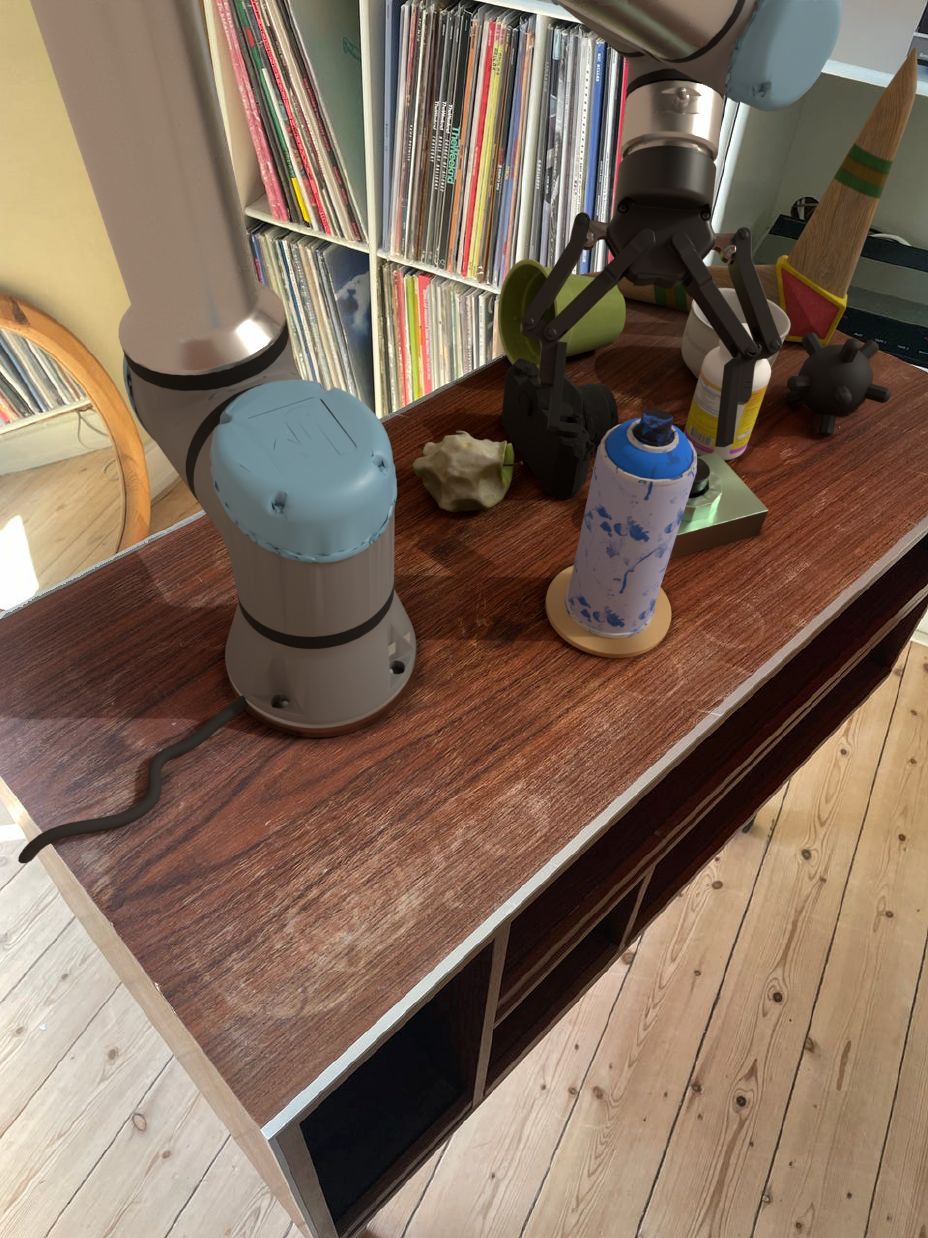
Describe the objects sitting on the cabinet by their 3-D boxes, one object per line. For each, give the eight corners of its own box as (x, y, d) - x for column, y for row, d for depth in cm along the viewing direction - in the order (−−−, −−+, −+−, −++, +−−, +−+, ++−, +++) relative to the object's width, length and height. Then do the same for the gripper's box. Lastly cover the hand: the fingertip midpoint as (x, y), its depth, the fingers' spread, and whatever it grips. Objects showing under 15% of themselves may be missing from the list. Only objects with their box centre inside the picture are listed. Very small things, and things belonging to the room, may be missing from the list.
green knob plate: (660, 562, 86) (672, 522, 83) (613, 500, 92) (623, 460, 88) (758, 534, 90) (774, 495, 86) (708, 476, 95) (721, 437, 91)
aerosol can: (661, 585, 84) (719, 399, 69) (645, 649, 79) (704, 463, 64) (576, 562, 85) (615, 375, 70) (555, 624, 80) (592, 436, 65)
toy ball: (806, 426, 109) (822, 468, 99) (757, 354, 105) (769, 390, 95) (894, 372, 104) (920, 411, 94) (846, 294, 100) (868, 326, 90)
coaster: (581, 673, 77) (582, 668, 77) (524, 581, 84) (525, 577, 83) (693, 638, 81) (695, 633, 80) (631, 552, 87) (632, 548, 87)
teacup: (683, 339, 112) (699, 276, 106) (774, 359, 110) (796, 297, 104) (662, 404, 103) (679, 340, 97) (761, 427, 101) (784, 364, 95)
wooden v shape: (906, 67, 87) (915, 43, 91) (578, 276, 117) (595, 251, 121) (1004, 263, 96) (1009, 234, 99) (675, 411, 125) (688, 384, 129)
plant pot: (590, 382, 112) (511, 388, 107) (569, 286, 113) (488, 288, 107) (651, 343, 102) (566, 348, 97) (627, 238, 102) (541, 238, 97)
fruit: (528, 504, 93) (542, 452, 86) (452, 546, 89) (460, 495, 82) (473, 442, 96) (482, 387, 89) (398, 480, 92) (401, 426, 85)
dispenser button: (676, 503, 85) (681, 486, 83) (653, 476, 87) (658, 458, 86) (713, 493, 86) (718, 476, 85) (690, 467, 89) (695, 449, 87)
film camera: (637, 486, 93) (656, 412, 87) (549, 506, 91) (562, 431, 84) (570, 399, 102) (583, 325, 96) (489, 415, 100) (496, 341, 93)
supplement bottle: (741, 427, 101) (778, 320, 91) (748, 466, 96) (787, 358, 87) (679, 420, 101) (709, 313, 91) (683, 459, 97) (715, 351, 87)
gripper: (509, 125, 69) (481, 414, 70) (847, 155, 69) (812, 446, 70) (506, 167, 76) (481, 428, 78) (811, 195, 76) (780, 456, 78)
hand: (638, 437), depth 74 cm, fingers open, 13 cm apart
